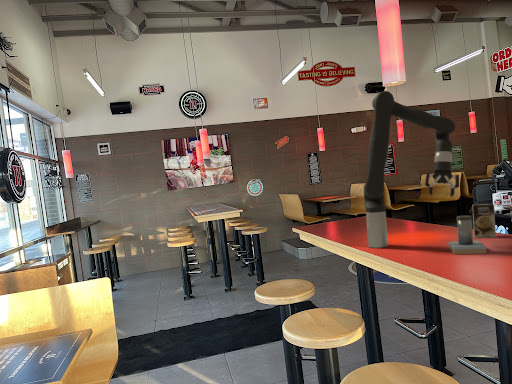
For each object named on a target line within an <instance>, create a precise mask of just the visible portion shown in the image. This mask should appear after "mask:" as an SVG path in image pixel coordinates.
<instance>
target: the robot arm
mask: <svg viewBox="0 0 512 384" xmlns="http://www.w3.org/2000/svg"><path fill="white" fill-rule="evenodd" d="M371 104H372V105H371V106H372V108H373V109H374V121H373V123H372V124H373V125H372V127H371V131H370V135H369V140H368V150H367V157H368V158H367V159H368V160H367V162H368V170H367V171H368V172H367V177H366V181H365V183H364V184H363V197H364V205H365V206H364V207H365V216H366V231H367V233H366V235H367V245H368V248H372V249H373V248H375V249H377V248H387V247H388V246H389V239H388V238H389V237H388V228H387V214H386V205H385V198H384V191H385V168H386V163H387V159H388V153H389V148H390V147H389V145H390V133H391V132H390V131H391V130H390V129H391V117H392V116H393V117H397V118H400V119H402V120H405V121H407V122H409V123H412V124H414V125H417V126H418V127H422V128H424V129H427V130H428V129H433V130H434V140H435V153H434V158H433V159H434V160H433V161H434V163H433V173H426V174H425V183H424V186H425V187H427V188H428V195H429V196H430V197H432V196H433V186H435V184H436V183H437V184H445V185H448V186H449V188H450V193H449V194H450V196H449V197H450V198H453V197H454V195H455V189H457V188H460V175H459V174H452V169H453V167H452V166H453V141H452V140H451V139H450V134H452V133H453V132H454V131H455V130H456V128H457V126H456V123H455V122H454V120H452V119H450V118H448V117H444V116H440V115H436V114H432V113H431V112H428V111H425V110H423V109H420V108H415V107H411V106H407V105H405V104H401V103H400V102H397V101H395V97H394V94H392V93H391V92H390V91H387V90H382V91H380V92H378V93H377V94H376V95H375V96H374V97H373V100H372V102H371ZM431 178H433V181H432V182H431V183H429V181H430V179H431ZM451 179H453V180H454V181H455V182H454V183H455V185H454V183H453V182H452V181H451Z"/></svg>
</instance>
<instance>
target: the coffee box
mask: <svg viewBox="0 0 512 384" xmlns="http://www.w3.org/2000/svg"><path fill="white" fill-rule="evenodd" d="M495 217H496V215H495V204H494V203H473V204H472V220H473V221H472V223H473V224H472V225H473V238H477V239H480V238H481V239H482V238H483V239H484V238H486V239H487V238H488V239H489V238H490V239H493V238H495V239H496V238H497V234H496V218H495Z"/></svg>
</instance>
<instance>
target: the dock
mask: <svg viewBox="0 0 512 384" xmlns="http://www.w3.org/2000/svg"><path fill="white" fill-rule="evenodd" d="M448 249H449V250H450V251H451V252H452V254H453V255H479V254H480V255H481V254H483V255H484V254H487V246H486V245H485V244H484V243H482V241H480V240H473V244H472V245H460V244H459V241H448Z"/></svg>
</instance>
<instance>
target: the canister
mask: <svg viewBox="0 0 512 384" xmlns="http://www.w3.org/2000/svg"><path fill="white" fill-rule="evenodd" d="M472 220H473V215H458V216H456V224H457V239H458V241H457V242H459V244H460V245H472V244H473V241H474V233H473V224H472V223H473V221H472Z"/></svg>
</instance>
